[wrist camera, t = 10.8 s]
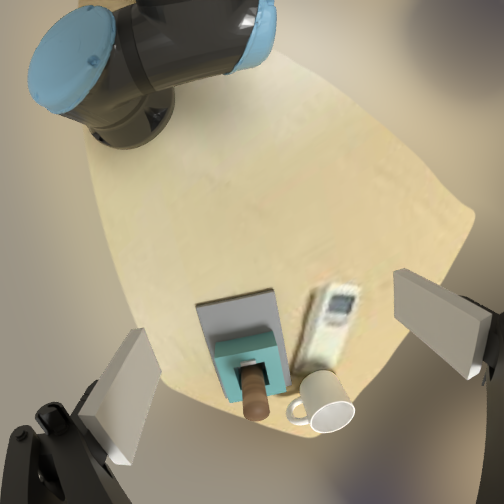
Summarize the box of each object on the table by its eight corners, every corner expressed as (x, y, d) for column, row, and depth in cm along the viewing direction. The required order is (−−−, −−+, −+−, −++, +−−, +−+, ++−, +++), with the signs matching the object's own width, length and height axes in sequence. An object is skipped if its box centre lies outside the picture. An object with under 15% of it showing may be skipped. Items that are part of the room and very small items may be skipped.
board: (196, 305, 46) (195, 308, 45) (273, 289, 47) (274, 291, 46) (225, 395, 51) (225, 398, 50) (291, 382, 51) (291, 385, 50)
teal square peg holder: (215, 342, 47) (214, 359, 41) (272, 330, 47) (277, 347, 42) (229, 385, 49) (229, 404, 44) (282, 375, 49) (287, 393, 44)
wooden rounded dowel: (238, 354, 48) (240, 406, 34) (258, 350, 48) (267, 401, 34) (242, 370, 48) (246, 423, 35) (262, 366, 48) (271, 418, 35)
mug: (288, 411, 53) (297, 445, 43) (275, 385, 51) (283, 421, 41) (341, 389, 52) (358, 421, 42) (332, 362, 51) (350, 394, 41)
